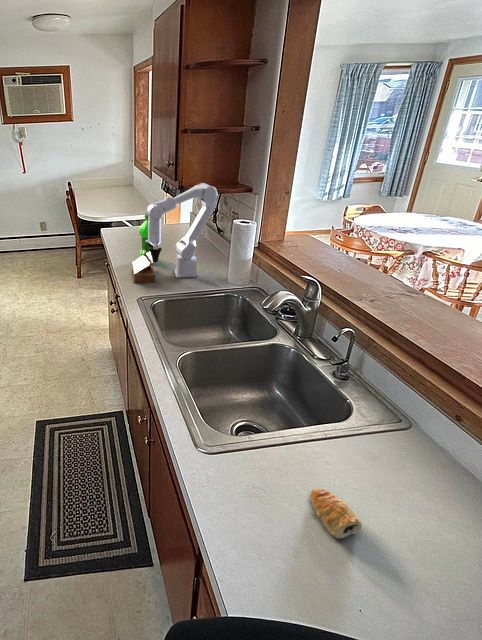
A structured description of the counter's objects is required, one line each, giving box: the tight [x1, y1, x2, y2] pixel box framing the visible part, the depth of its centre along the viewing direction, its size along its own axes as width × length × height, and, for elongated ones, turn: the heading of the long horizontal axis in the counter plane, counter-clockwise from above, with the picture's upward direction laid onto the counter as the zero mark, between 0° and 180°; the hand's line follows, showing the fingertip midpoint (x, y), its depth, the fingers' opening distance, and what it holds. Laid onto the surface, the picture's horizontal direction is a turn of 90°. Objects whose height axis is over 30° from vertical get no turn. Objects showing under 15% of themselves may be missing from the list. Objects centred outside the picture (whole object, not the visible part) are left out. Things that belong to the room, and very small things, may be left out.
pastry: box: [309, 488, 362, 540], centre depth 77 cm, size 9×7×4 cm
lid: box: [132, 250, 155, 276], centre depth 186 cm, size 10×16×5 cm
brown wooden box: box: [132, 264, 156, 284], centre depth 189 cm, size 10×16×4 cm, turn 0°
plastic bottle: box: [138, 213, 150, 257], centre depth 203 cm, size 10×10×25 cm
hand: (154, 258), depth 183 cm, fingers open, 7 cm apart
